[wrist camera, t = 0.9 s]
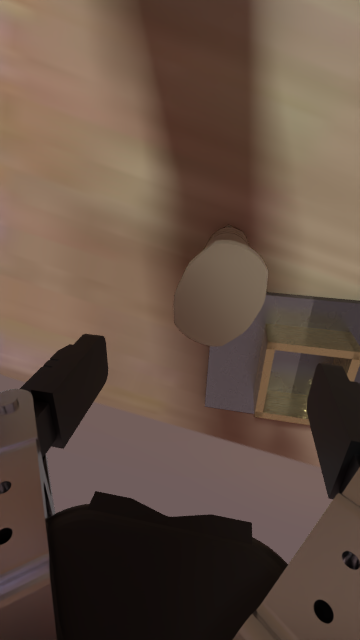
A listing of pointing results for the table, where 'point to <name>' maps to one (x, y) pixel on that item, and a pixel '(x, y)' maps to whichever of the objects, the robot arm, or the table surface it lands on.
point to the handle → (221, 290)
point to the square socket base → (284, 356)
